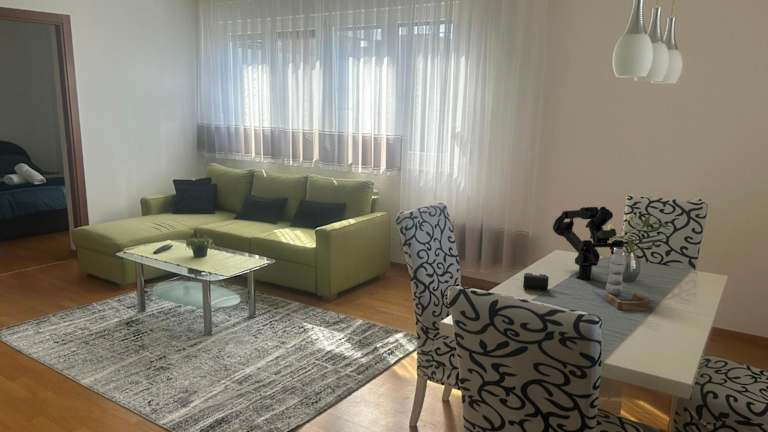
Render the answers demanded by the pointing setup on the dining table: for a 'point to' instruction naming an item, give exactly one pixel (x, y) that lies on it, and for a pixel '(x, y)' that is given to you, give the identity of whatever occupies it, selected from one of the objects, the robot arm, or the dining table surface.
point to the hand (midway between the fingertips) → (606, 262)
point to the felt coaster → (621, 297)
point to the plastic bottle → (615, 272)
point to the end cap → (535, 282)
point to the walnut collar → (630, 303)
